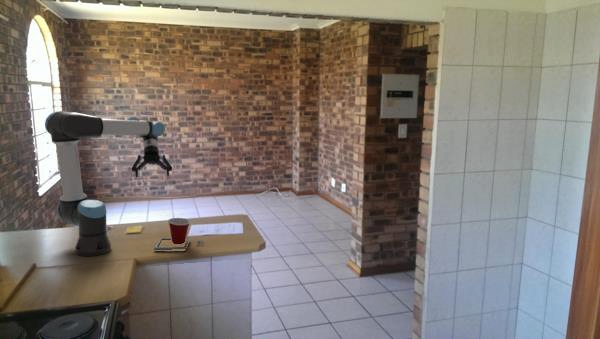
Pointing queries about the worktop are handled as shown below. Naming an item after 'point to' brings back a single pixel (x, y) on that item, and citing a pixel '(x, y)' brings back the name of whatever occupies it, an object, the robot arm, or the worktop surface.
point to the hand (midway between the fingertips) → (152, 181)
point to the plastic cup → (178, 229)
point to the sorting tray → (169, 247)
